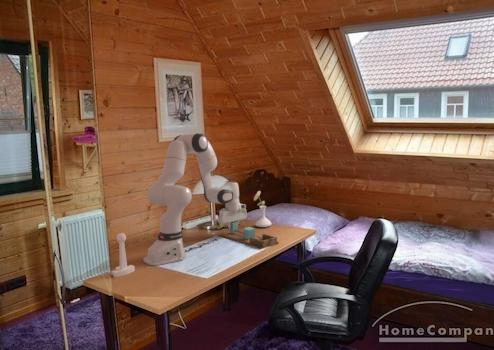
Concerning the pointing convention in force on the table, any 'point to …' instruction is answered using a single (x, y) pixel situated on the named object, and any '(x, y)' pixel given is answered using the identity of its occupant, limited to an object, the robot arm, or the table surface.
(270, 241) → the lane board
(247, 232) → the block with cord
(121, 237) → the joystick
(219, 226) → the scroll
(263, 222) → the flower in vase
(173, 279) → the table surface
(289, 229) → the table surface
